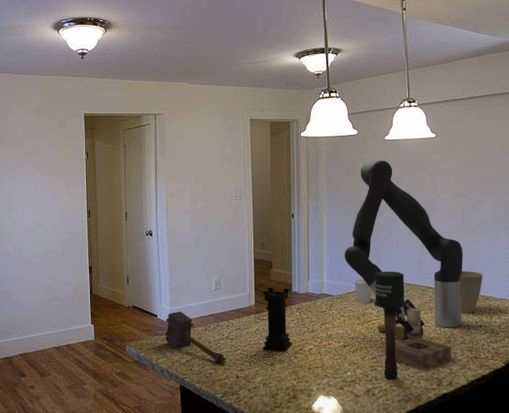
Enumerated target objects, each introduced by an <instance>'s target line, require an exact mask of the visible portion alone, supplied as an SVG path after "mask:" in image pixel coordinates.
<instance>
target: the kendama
mask: <svg viewBox="0 0 509 413" xmlns="http://www.w3.org/2000/svg"><path fill="white" fill-rule="evenodd" d="M377 326H378V327H377V331H378V332H380V333H385V325H384V324H383V323H378V325H377ZM423 336H424V328H423V326H422V327H421V337H420V338H421V339H423ZM406 337H407V331H406V330H405V328H404V327H403V326H402V325H396V327H395V338H396V339H397V340H405V338H406Z"/></svg>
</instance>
